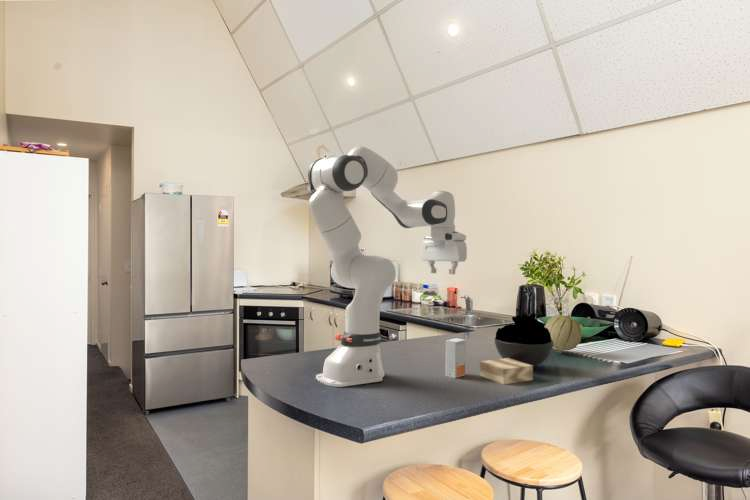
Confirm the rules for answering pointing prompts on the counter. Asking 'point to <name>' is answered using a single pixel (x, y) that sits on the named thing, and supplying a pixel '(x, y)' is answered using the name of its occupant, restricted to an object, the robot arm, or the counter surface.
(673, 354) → the counter surface
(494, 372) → the maple block
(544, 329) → the bowl of black rocks
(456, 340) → the skincare box
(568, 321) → the cantaloupe
